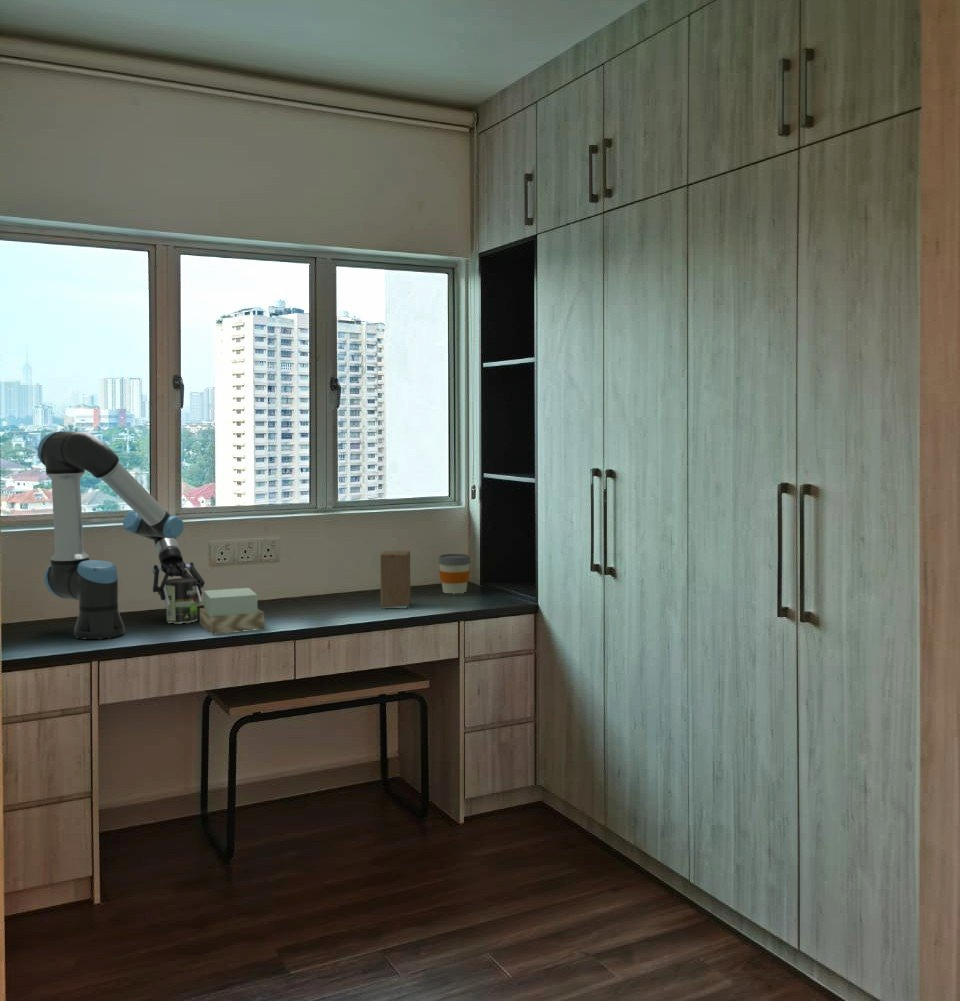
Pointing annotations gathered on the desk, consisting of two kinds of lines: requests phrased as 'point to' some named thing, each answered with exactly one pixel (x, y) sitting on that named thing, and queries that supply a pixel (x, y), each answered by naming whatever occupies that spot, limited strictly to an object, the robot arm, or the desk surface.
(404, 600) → the wooden block
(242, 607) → the sage top slab
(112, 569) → the robot arm
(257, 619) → the birch base slab
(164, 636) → the desk surface
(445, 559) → the reusable coffee cup
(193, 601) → the coffee can
